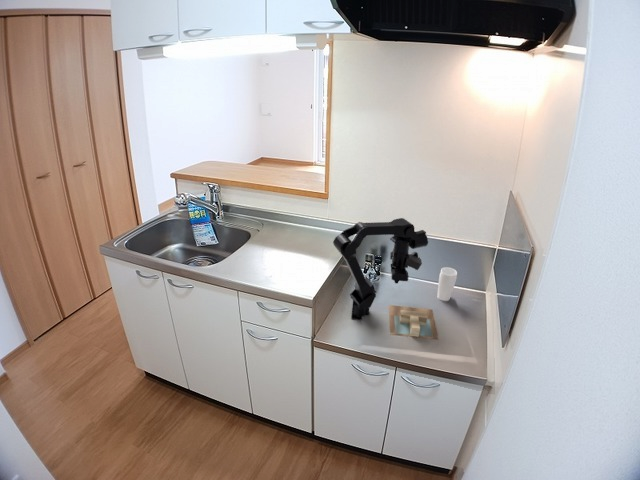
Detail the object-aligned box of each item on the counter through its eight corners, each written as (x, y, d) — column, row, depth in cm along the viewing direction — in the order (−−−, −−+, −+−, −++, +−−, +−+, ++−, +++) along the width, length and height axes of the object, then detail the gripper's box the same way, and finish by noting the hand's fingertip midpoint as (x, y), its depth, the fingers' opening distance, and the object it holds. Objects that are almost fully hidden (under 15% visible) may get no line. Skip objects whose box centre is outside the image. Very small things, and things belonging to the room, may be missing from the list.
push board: (389, 337, 137) (390, 334, 136) (388, 307, 153) (388, 305, 152) (438, 342, 135) (438, 339, 134) (431, 312, 151) (432, 309, 150)
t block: (399, 317, 145) (400, 309, 143) (424, 320, 144) (426, 312, 142) (401, 334, 136) (402, 326, 134) (428, 337, 135) (429, 329, 133)
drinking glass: (451, 305, 155) (458, 276, 148) (435, 303, 156) (441, 274, 149) (449, 296, 161) (456, 268, 154) (434, 294, 162) (440, 266, 155)
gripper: (424, 264, 132) (418, 298, 139) (419, 240, 148) (414, 272, 156) (394, 261, 133) (389, 295, 140) (392, 238, 149) (388, 270, 157)
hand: (396, 282), depth 148 cm, fingers closed
